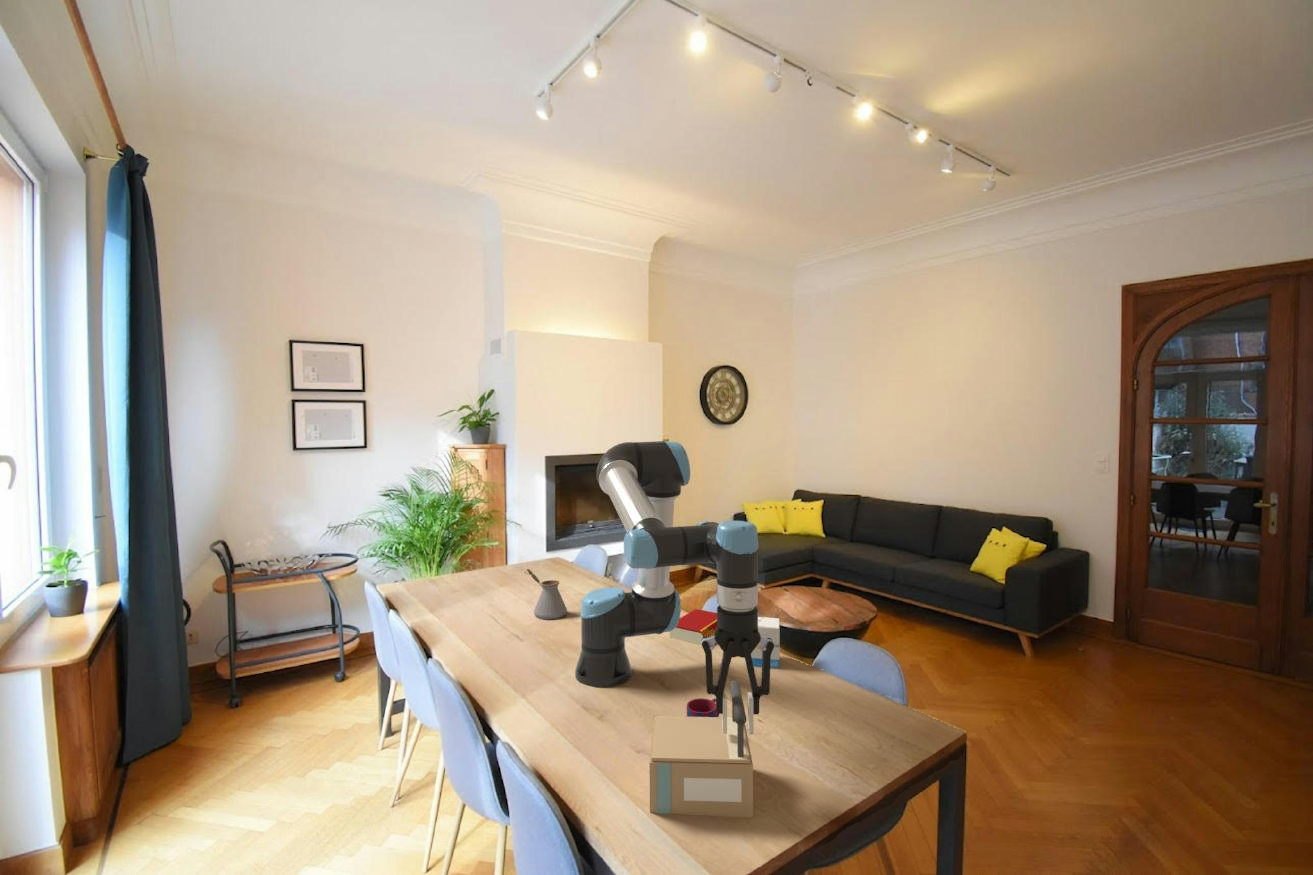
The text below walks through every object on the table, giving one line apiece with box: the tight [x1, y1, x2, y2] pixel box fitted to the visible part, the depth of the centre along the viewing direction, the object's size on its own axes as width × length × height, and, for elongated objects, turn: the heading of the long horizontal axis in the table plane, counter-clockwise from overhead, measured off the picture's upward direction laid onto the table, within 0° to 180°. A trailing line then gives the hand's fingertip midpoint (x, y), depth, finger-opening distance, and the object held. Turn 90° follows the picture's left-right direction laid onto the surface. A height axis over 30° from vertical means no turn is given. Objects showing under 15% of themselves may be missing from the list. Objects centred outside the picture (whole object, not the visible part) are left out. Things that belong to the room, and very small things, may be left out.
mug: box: [686, 697, 720, 717], centre depth 130 cm, size 7×10×7 cm
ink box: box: [751, 616, 781, 669], centre depth 168 cm, size 9×8×12 cm
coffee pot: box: [524, 568, 568, 621], centre depth 209 cm, size 21×12×15 cm, turn 43°
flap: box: [651, 680, 750, 764], centre depth 109 cm, size 17×14×8 cm
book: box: [669, 608, 717, 646], centre depth 190 cm, size 18×13×5 cm
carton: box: [649, 718, 754, 819], centre depth 109 cm, size 18×15×10 cm
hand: (737, 729), depth 109 cm, fingers open, 4 cm apart
